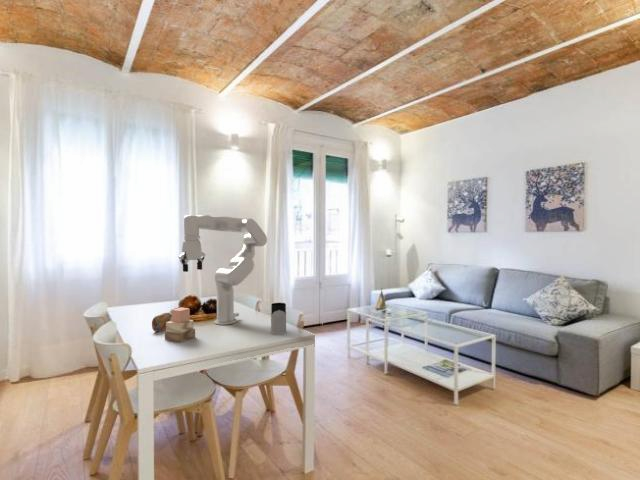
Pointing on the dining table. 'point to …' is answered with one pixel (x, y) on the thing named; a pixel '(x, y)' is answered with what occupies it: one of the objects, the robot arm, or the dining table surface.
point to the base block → (180, 336)
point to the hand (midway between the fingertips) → (192, 270)
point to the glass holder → (278, 319)
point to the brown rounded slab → (161, 322)
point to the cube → (180, 315)
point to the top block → (179, 326)
